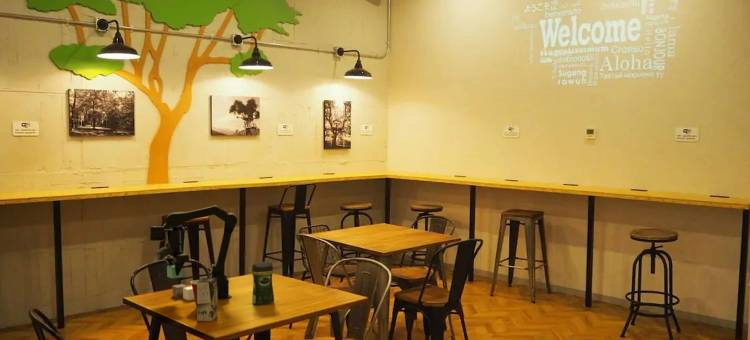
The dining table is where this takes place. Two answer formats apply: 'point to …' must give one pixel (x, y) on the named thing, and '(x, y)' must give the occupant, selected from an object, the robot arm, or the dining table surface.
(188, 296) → the cream block
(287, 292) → the dining table surface
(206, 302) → the coffee box
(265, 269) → the coffee jar
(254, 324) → the dining table surface
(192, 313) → the dining table surface
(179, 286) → the walnut block
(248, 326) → the dining table surface
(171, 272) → the teal block
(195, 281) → the plastic cup
